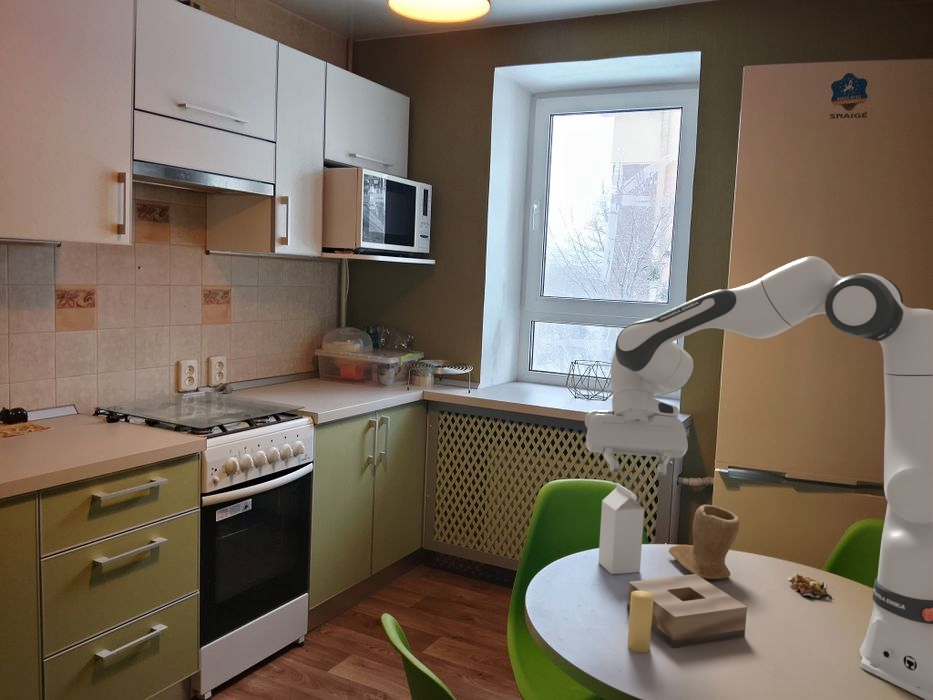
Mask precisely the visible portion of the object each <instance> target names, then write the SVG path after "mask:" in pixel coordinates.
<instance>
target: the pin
mask: <svg viewBox="0 0 933 700" xmlns="http://www.w3.org/2000/svg"><path fill="white" fill-rule="evenodd" d="M653 597H654V596H653V595H652V594H651V593H649V592H646V591H639V590H638V591H633V592H632V593H631V602H630V613H629V618H628V633H627V634H628V635H627V648H628V649H629V650H630V651H631V652H634V653H640V654H641V653H642V654H644V653H648V652H649V651H650V650H651V638H652V637H651V636H652V631H651V626H652V611H653Z"/></svg>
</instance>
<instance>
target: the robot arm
mask: <svg viewBox="0 0 933 700" xmlns="http://www.w3.org/2000/svg"><path fill="white" fill-rule="evenodd" d="M898 287H899V286H897V285H896V283H894V282H893V281H892V280H890V279H889V278H886V277H885V276H881V275H879V274H876V273H871V272H870V273H869V272H868V273H867V272H863V273H862V272H861V273H855V274H851V275H844V276H840V275H839V274H838V273H837V272H836V271H835V269H834V268H833V267H832V266H831V264H829V262H828V261H826V260H825V259H823V258H821V257H818V256H813V255H808V256H805V257H802V258H799V259H796V260H794V261H791V262H788V263H786V264H785V265H782V266H781V267H778V268H776V269H774V270H771V271H770V272H768V273H766V274H765V275H763V276H761V277H760V278H758V279H756V280H754V281H753V282H750V283H747V284H744V285H741V286H738V287H734V288H733V287H732V288H728V289H727V288H726V289H717V290H713V291H710V292H707V293H705V294H702V295H701V296H698V297H696V298H693V299H692V300H689V301H687V302H684V303H682V304H680V305H678V306H675V307H673V308H671V309H669V310H667V311H665V312H662V313H660V314H658V315H656V316H653V317H651V318H649V317H648V318H647V319H646V318H645V319H642V320H638V321H635V322H632V323H630V324H628V325H627V326H626V327H624V328H623V329H622V330H621V331H620V333H619V334H618V336H617V338H616V342H615V347H614V349H615V350H614V354H613V356H612V359H611V363H610V387H611V389H612V392H613V393H612V394H613V395H612V399H611V406H612V407H611V409H612V410H597V409H592V410H591V411H588V412H587V413H586V414H585V415H584V425H585V428H586V429H587V432H586V439H585V448H586V449H587V450H588V451H589V453H600V454H601V453H602V454H603V457H604V460H605V461H606V462H607V463H608V465H609V471H610V472H613V473H614V472H615V473H618V472H619V469H620V463H619V462H620V461H619V460H615V459H614V457H613V455H614V454H615V455H616V454H617V455H631V456H644V457H656V458H657V457H659V458H660V457H661V458H660V459H661V461H662V462H663V463H658V464H657V467H656V471H657V475H659V476H666V475H667V473H668V471H667V465H668V463H669V461H670V459H672V458H674V459H681V458H683V457H684V456H685V454H686V453H687V451H688V448H689V445H688V444H689V443H688V437H687V433H686V428H685V425H684V424H683V422H682V420H681V419H680V418H679V414H680V413H679V408H678V407H677V406H675V405H672V404H669V403H666V402H663V401H660V400H658V399H656V398H655V397H657V396H659V397H660V396H664V395H668V394H671V393H674V392H677V391H679V390H681V389H683V388H684V387H686V386H687V385H688V383H689V382H690V381H691V380H692V376H693V374H694V370H695V362H694V358H693V356H691V354H689V353H688V351H686V350H685V349H683V347H681V346H679V344H677V343H676V342H675V341H678V340H680V339H682V338H684V337H687V336H689V335H692V334H693V333H695V332H698V331H701V330H704V329H719V330H725V331H729V332H732V333H733V332H734V333H736V334H739V335H742V336H745V337H747V338H752V339H759V340H764V339H768V338H772V337H775V336H777V335H780V334H783V333H784V332H786V331H788V330H789V329H791V328H792V327H796V325H799V324H800V323H802V322H804V321H806V320H808V319H810V318H812V317H814V316H816V315H826V317H827V319H828V321H829V323H830V324H831V325H832V326H833V327H834V329H837V330H838V331H839V332H841V333H844V334H846V335H849V336H852V337H855V338H856V337H857V338H860V339H866V340H869V341H873V342H878V343H879V344H880V346H881V349H882V350H881V351H882V357H883V382H884V388H883V389H884V409H885V421H884V422H885V423H884V424H885V425H884V447H883V449H884V450H883V452H884V453H883V455H884V456H883V491H884V496H885V499H886V501H887V506H886V512H885V516H884V524H883V528H882V535H881V542H880V552H879V559H878V569H877V570H878V571H877V577H876V578H875V579H874V584H873V589H872V600H873V607H872V614H871V617H870V621H869V625H868V629H867V631H866V634H865V637H864V639H863V642H862V644H861V646H860V647H859V655H860V657H861V662H860V667H861V668H862V669H863V670H865V671H867V672H869V673H870V674H872V675H875V676H877V677H878V678H881V679H883V680H885V681H887V682H889V683H890V684H893V685H895V686H897V687H900V688H901V689H903V690H906V691H907V692H909V693H911V694H913V695H915V696H917V697H920V698H921V699H922V700H923V699H924V700H933V310H932V309H928V308H912V307H907V306H906V305H905V304H904V298H903V296H902V293H901V290H900V289H899V288H898ZM612 454H613V455H612Z"/></svg>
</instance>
